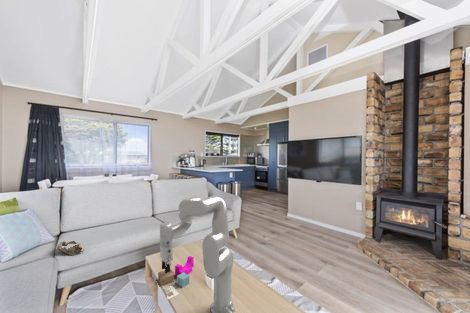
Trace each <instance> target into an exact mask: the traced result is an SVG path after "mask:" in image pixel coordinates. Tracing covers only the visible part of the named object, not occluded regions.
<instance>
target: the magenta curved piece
mask: <svg viewBox="0 0 470 313" xmlns="http://www.w3.org/2000/svg"><path fill="white" fill-rule="evenodd" d="M194 261H195V258H194V256H192V255H188V256H187V259H186V262H185V264H184V265H183V264H180V263H178V264H177V263H176V264H175V266H174V278H177V276H178V275H180V274H181V273H183V272H184V273H185V274H187V275H188V276H189V274H191V273H192V272H193V268H194V267H195V264H194V263H195V262H194Z"/></svg>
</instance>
